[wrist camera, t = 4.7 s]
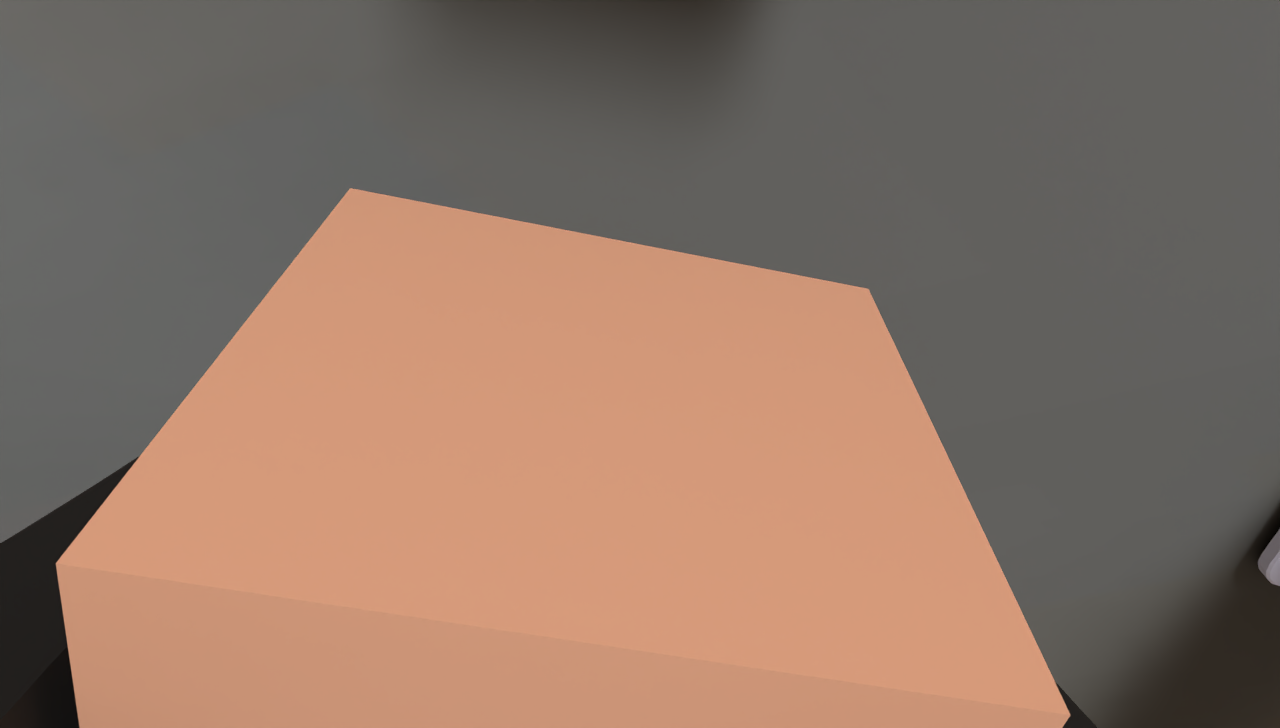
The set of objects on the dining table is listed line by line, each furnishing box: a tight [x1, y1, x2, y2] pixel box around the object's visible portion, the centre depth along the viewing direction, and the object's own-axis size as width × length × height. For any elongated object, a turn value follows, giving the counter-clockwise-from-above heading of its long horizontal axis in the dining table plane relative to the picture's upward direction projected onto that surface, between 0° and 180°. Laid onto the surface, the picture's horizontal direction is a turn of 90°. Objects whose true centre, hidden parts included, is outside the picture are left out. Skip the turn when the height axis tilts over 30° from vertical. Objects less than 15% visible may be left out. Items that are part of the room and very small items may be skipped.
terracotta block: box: [56, 188, 1070, 728], centre depth 8 cm, size 5×5×5 cm
